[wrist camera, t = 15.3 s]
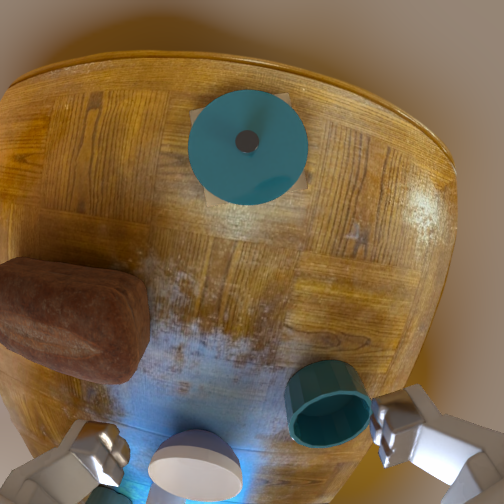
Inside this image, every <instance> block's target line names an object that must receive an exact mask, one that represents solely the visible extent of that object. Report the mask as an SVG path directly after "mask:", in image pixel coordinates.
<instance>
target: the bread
mask: <svg viewBox="0 0 504 504" xmlns="http://www.w3.org/2000/svg"><path fill="white" fill-rule="evenodd" d="M149 341H150V314H149V305H148V297H147V290H146V288H145V286H144V283H143V281H142V280H140V279H139V278H137V277H135V276H133V275H131V274H128V273H125V272H122V271H117V270H110V269H102V268H93V267H86V266H80V265H74V264H68V263H62V262H50V261H42V260H37V259H33V258H28V257H17V258H14V259H11V260H9V261H7V262H5V263H3V264H0V343H1V344H3V345H4V346H5V347H6V348H7V349H9V350H11V351H13V352H15V353H17V354H20V355H22V356H23V357H25V358H26V359H28V360H31V361H33V362H35V363H38V364H41V365H43V366H45V367H48V368H50V369H52V370H55V371H57V372H60V373H63V374H67V375H71V376H73V377H76V378H79V379H83V380H87V381H91V382H95V383H99V384H122V383H125V382H127V381H129V379H130V378H131V377H132V376H133V374H134V373H135V371H136V370H137V367H138V363H139V362H140V360H141V358H142V356H143V354H144V352H145V350H146V347H147V345H148V343H149Z"/></svg>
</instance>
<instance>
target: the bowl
mask: <svg viewBox="0 0 504 504" xmlns="http://www.w3.org/2000/svg"><path fill="white" fill-rule="evenodd" d="M148 473H149V476H150V478H151V479H152V481H153V482H154V483H155V484H156V485H158V486H159V487H160V488H162V489H164V490H165V491H167V492H169V493H171V494H174V495H176V496H179V497H182V498H185V499H190V500H195V501H205V502H213V501H222V500H226V499H230V498H232V497H234V496H236V495H237V494H238V493H239V492H240V491H241V489H242V485H243V484H242V472H241V468H240V463H239V459H238V458H237V456H236V455H235V453H234V452H233V450H232V449H231V447H230V446H229V445H228V444H227V443H226V442H224V441H223V440H222V439H221V438H220V437H219V436H217V435H216V434H214V433H211V432H209V431H205V430H199V429H192V430H187V431H184V432H182V433H178V434H175V435H173V436H171V437H170V438H169V439H167V440H166V441H164V442H163V443H162V444H161V445H160V446H159V448H158V449H157V451H156V453H155V454H154V455H153V457H152V459H151V462H150V464H149V467H148Z"/></svg>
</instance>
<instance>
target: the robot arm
mask: <svg viewBox="0 0 504 504" xmlns="http://www.w3.org/2000/svg"><path fill="white" fill-rule="evenodd" d="M371 409H372V411H373V414H372V415H371V416H370V422H369V425H370V433H371V436H372V439H373V442H374V443H375V444H376V445H378V446H380V447H379V452H378V454H379V457H380V459H381V461H382V464H383V466H384V468H388V467H391V466H394V465H397V464H400V463H403V462H406V461H409V460H410V461H411V462H412V463H414V464H415V465H417V466H418V467H420V468H422V469H423V470H425V471H427V472H428V473H430V474H431V475H433V476H435V477H437V478H438V479H440V480H442V481H443V482H445V483H447V484H449V485H450V488H449V490H448V491H447V492H446V494H445V495H444V497H443V498H442V500H441V504H504V433H501V432H498V431H495V430H492V429H489V428H485V427H482V426H479V425H476V424H474V423H471V422H468V421H465V420H462V419H459V418H456V417H453V416H451V415H448V414H445V415H441V413H440V412H439V410H438V409H437V407H436V406H435V405H434V403H433V402H432V400H431V399H430V398H429V397H428V395H427V394H426V392H425V391H424V390H423V388H422V387H421V385H419V384H415V385H412V386H409V387H406V388H404V389H400V390H397V391H395V392H391V393H388V394H385V395H382V396H379V397H376V398H373V399H372V401H371ZM119 433H120V431H119V429H118V428H117V426H116V425H114V424H110V423H102V422H95V421H87V420H81V419H78V420H76V421H75V422H74V423H73V425H72V426H71V428H70V430H69V431H68V433H67V434H66V436H65V437H64V439H63V440H62V442H61V444H60V445H59V447H58V448H56V447H54V448H53V449H51V450H49V451H47V452H46V453H44V454H42V455H40V456H38V457H37V458H35V459H33V460H31V461H29V462H27V463H25V464H24V465H22V466H20V467H18V468H16V469H14V470H12V471H11V473H10V474H9V476H8V477H7V479H6V481H5V482H4V484H3V485H2V487H1V488H0V504H77V503H78V502H79V501H81V500H82V499H83V498H84V497H85V496H86V495H88V494H89V493H90V492H91V491H92V490H93V489H95V488H96V487H97V486H98V485H99V483H101V484H106V485H111V486H117V487H119V486H120V483H121V480H122V478H123V475H124V471H123V467H124V466H126V465H127V464H128V462H129V459H130V448H129V445H128V443H127V442H126V440H125V439H123V438H122V437H121V436H119Z"/></svg>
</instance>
